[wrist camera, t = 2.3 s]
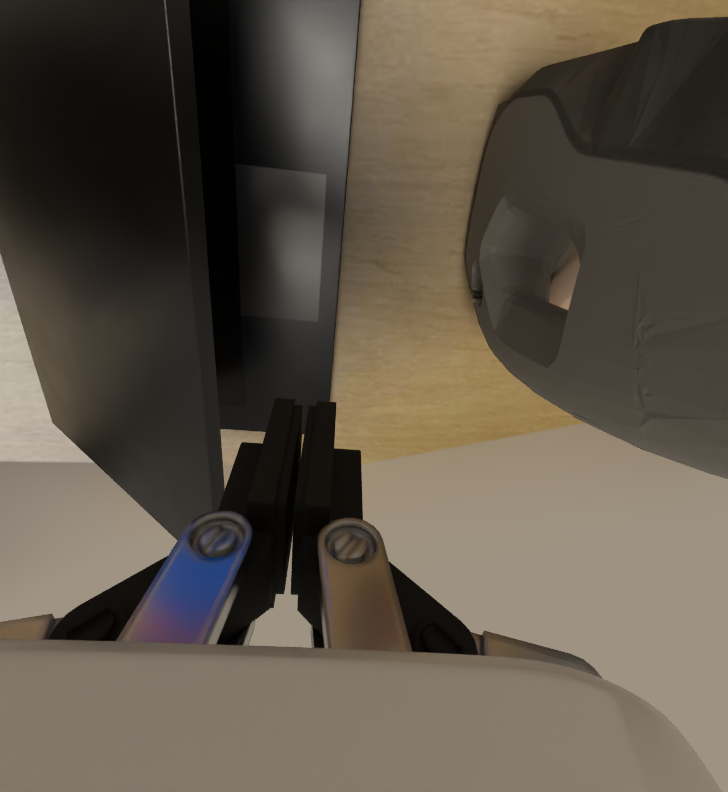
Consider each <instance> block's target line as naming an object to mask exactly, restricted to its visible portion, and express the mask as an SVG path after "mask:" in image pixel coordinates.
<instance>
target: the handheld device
mask: <svg viewBox="0 0 728 792" xmlns="http://www.w3.org/2000/svg"><path fill="white" fill-rule="evenodd" d="M572 242H573V243H574V245H575V247H576V250H577V252H578V256H579V261H580V268H579V272H578V275H577V279H576V283H575V286H574V290H573V294H572V298H571V301H570V305H569V309H568V310H566V309H564V308H561V307H559V306H557V305H554V304H552V303H549V302H550V277H551V272H552V269H553V267H554V264H555V262H556V260H557V259H558V258H559V256H560V255H561V254H562V252H563V251H564V250H565V249H566V248H567V247H568V246H569V245H570V244H571V243H572ZM465 262H466V271H467V276H468V281H469V286H470V290H471V293H472V296H473V298H474V299H476V300H475V302H474V306H475V310H476V314H477V318H478V322H479V325H480V327H481V330H482V332H483V335H484V337H485V339H486V341H487V344H488V346H489V347H490V349H491V350H492V352H493V353H494V355H495V356H496V357H497V358H498V359H499V361H500V362H501V363H502V364H503V365H504V366H505V367H506V369H507V370H508V371H509V372H510V373H511V374H512V375H514V376H515V377H516V378H517V379H519V380H520V381H521V382H522V383H524V384H525V385H526V386H527V387H529V388H530V389H531V390H533V391H534V392H535V393H536V394H538V395H540V396H541V397H543V398H544V399H546V400H548V401H549V402H551V403H553V404H554V405H556V406H558V407H559V408H561V409H562V410H564V411H566V412H568V413H569V414H571V415H573V417H575V418H577V419H579V420H581V421H583V422H585V423H587V424H589V425H591V426H593V427H596V428H598V429H600V430H602V431H604V432H606V433H608V434H611V435H612V436H615V437H617V438H619V439H622V440H624V441H626V442H628V443H630V444H632V445H634V446H636V447H638V448H640V449H643V450H645V451H648V452H651V453H653V454H656V455H659V456H662V457H664V458H667V459H670V460H673V461H676V462H678V463H681V464H684V465H687V466H690V467H693V468H695V469H698V470H701V471H704V472H707V473H710V474H713V475H716V476H720V477H723V478H727V479H728V17H714V18H688V19H679V20H672V21H667V22H663V23H659V24H656V25H653V26H650V27H648V28H647V29H646V30H645V31H644V32H643V34H642V36H641V38H640V40H639V41H638V42H635V43H632V44H628V45H624V46H621V47H617V48H613V49H610V50H606V51H602V52H598V53H594V54H590V55H587V56H583V57H579V58H575V59H571V60H567V61H564V62H560V63H556V64H552V65H549V66H546V67H543V68H541V69H540V70H538V71H537V72H536V73H535V74H534V75H533V76H532V77H531V78H530V79H529V80H528V81H527V82H526V83H525V84H524V85H523V86H522V87H521V88H520V89H519V90H518V91H517V92H516V93H515V94H514V95H513V96H512V97H511V98H510V99H509V100H507V101H505V102H503V103H501V104H499V106H498V109H497V112H496V116H495V121H494V126H493V129H492V131H491V134H490V137H489V140H488V143H487V146H486V150H485V153H484V157H483V162H482V166H481V170H480V175H479V180H478V184H477V189H476V194H475V199H474V204H473V209H472V215H471V220H470V226H469V232H468V238H467V246H466V255H465Z"/></svg>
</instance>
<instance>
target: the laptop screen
mask: <svg viewBox="0 0 728 792" xmlns="http://www.w3.org/2000/svg"><path fill="white" fill-rule="evenodd" d="M0 253H1V257H2V260H3V263H4V266H5V270H6V273H7V276H8V279H9V283H10V286H11V289H12V292H13V296H14V299H15V302H16V305H17V309H18V312H19V315H20V318H21V322H22V325H23V328H24V331H25V335H26V338H27V341H28V344H29V348H30V351H31V354H32V357H33V361H34V364H35V367H36V370H37V374H38V377H39V380H40V383H41V387H42V390H43V393H44V396H45V400H46V403H47V406H48V409H49V413H50V416H51V419H52V422H53V424H54V425H55V426H57V427H58V428H59V429H60V430H61V431H62V432H63V433H64V434H65V435H66V436H67V437H68V438H69V439H70V440H71V441H72V442H73V443H75V444H76V445H77V446H78V447H79V448H80V449H81V450H82V451H83V452H84V453H85V454H86V455H87V456H88V457H89V458H90V459H92V460H93V461H94V462H95V463H96V464H97V465H98V466H99V467H100V468H101V469H102V470H103V471H104V472H105V473H106V474H108V475H109V476H110V477H111V478H112V479H113V480H114V481H115V482H116V483H117V484H118V485H119V486H120V487H121V488H123V489H124V490H125V491H126V492H127V493H128V494H129V495H130V496H131V497H132V498H133V499H134V500H135V501H136V502H137V503H138V504H139V505H140V506H141V507H143V508H144V509H145V510H146V511H147V512H148V513H149V514H150V515H151V516H152V517H153V518H154V519H155V520H156V521H157V522H159V523H160V524H161V525H162V526H163V527H164V528H165V529H166V530H167V531H168V532H169V533H170V534H171V535H172V536H173V537H174V538H176V539H177V540H178V539H179V538H180V536H181V534H182V533H183V531H184V530H185V528H186V527H187V526H188V525H189V524H190V522H192V521H193V520H195V519H196V518H197V517H199V516H201V515H203V514H206V513H208V512H213V511H218V509H219V506H220V503H221V500H222V497H223V494H224V491H225V489H224V477H223V476H224V475H223V461H222V448H221V434H220V421H219V407H218V393H217V380H216V366H215V352H214V339H213V325H212V311H211V298H210V284H209V271H208V257H207V243H206V230H205V216H204V202H203V189H202V175H201V161H200V148H199V134H198V121H197V107H196V93H195V80H194V66H193V52H192V39H191V25H190V11H189V0H0Z"/></svg>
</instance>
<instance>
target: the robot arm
mask: <svg viewBox="0 0 728 792" xmlns="http://www.w3.org/2000/svg"><path fill="white" fill-rule="evenodd" d="M302 418H303V405H296V399H286V398H275V401H274V405H273V408H272V412H271V416H270V419H269V423H268V426H267V430H266V434H265V437H264V441H263V444H261V443H246V442H243V443H241V445H240V448H239V451H238V454H237V456H236V459H235V462H234V465H233V468H232V471H231V474H230V477H229V480H228V483H227V486H226V488H225V491H224V494H223V497H222V500H221V503H220V506H219V509H218V511H213V512H208V513H206V514H203V515H201V516H199V517H197V518H196V519H195V520H193V521H192V522H190V524H189V525H188V526H187V527H186V528H185V530H184V531H183V533H182V534H181V536H180V538H179V539H178V541H177V543H176V544H175V546H174V547H173V549H172V551H171V552H170V554H169V556H167V557H165V558H163V559H161V560H160V561H158V562H156V563H154V564H152V565H151V566H149V567H147V568H146V569H144V570H142V571H140V572H138V573H137V574H135V575H133V576H131V577H129V578H127V579H126V580H124V581H122V582H120V583H118V584H117V585H115V586H113V587H112V588H110V589H108V590H106V591H104V592H102V593H101V594H99V595H97V596H95V597H94V598H92V599H90V600H88V601H86V602H85V603H83V604H81V605H79V606H78V607H76V608H75V609H73V610H72V611H71V612H69V613H68V614H67V615H66V616H65V617H63V618H57V619H54V617H53V615H52V614H47V615H41V616H35V617H28V618H22V619H16V620H10V621H3V622H0V792H722V791H721V789H720V788H719V786H718V785H717V783H716V782H715V780H714V779H713V777H712V776H711V774H710V773H709V771H708V770H707V768H706V767H705V765H704V763H703V762H702V760H701V759H700V757H699V756H698V755H697V753H696V752H695V750H694V749H693V748H692V746H691V745H690V744H689V742H688V741H687V740H686V739H685V737H684V736H683V735H682V734H681V732H680V731H679V730H678V729H677V728H676V727H675V726H674V725H673V724H672V723H671V722H670V721H669V720H668V719H667V717H666V716H665V715H663V714H662V713H661V712H660V711H658V710H657V709H656V708H654V707H653V706H652V705H651V704H649V703H648V702H646V701H645V700H643V699H641V698H640V697H638V696H636V695H635V694H633V693H631V692H629V691H627V690H626V689H624V688H622V687H620V686H617V685H615V684H613V683H611V682H609V681H606V680H604V679H602V677H601V676H600V675H599V673H598V672H597V671H596V670H595V668H593V667H592V666H591V665H590V664H588V663H587V662H586V661H585V660H583V659H581V658H579V657H577V656H574V655H572V654H569V653H565V652H562V651H558V650H554V649H550V648H547V647H543V646H539V645H536V644H532V643H528V642H524V641H521V640H517V639H513V638H509V637H506V636H502V635H498V634H495V633H490V632H487V631H484V632H483V634H482V635H479V634H475V633H471V632H470V631H469V629H468V628H467V627H466V626H465V625H464V624H463V623H462V622H461V621H460V620H459V619H458V618H456V617H455V616H454V615H453V614H452V613H450V612H449V611H448V610H447V609H446V608H444V607H443V606H442V605H441V604H440V603H438V602H437V601H436V600H435V599H434V598H432V597H431V596H430V595H429V594H427V593H426V592H425V591H424V590H423V589H422V588H420V587H419V586H418V585H417V584H416V583H414V582H413V581H412V580H411V579H409V578H408V577H407V576H406V575H405V574H403V573H402V572H401V571H400V570H399V569H398V568H396V567H395V566H394V565H392V564H391V563H390V562H389V561H388V557H387V554H386V550H385V546H384V542H383V539H382V537H381V535H380V533H379V531H377V530H376V528H375V527H374V526H372V525H371V524H369V523H368V522H366V521H364V520H363V515H362V514H363V512H362V481H361V451H360V450H348V449H334V437H335V418H336V402H325V401H317V405H316V406H310V405H309V408H308V415H307V421H306V428H305V435H304V441H303V448H302V455H301V441H302ZM292 535H293V549H292V575H291V576H292V577H291V594H293V595H298V611H299V612H300V613H301V614H302V615H303V617H304V618H306V620H307V621H308V622H309V623H310V624H311V643H312V648H301V647H274V646H272V647H271V646H248V645H249V642H250V639H251V637H252V634H253V630H254V625H255V619H257V618H258V617H259V616H261V615H262V614H263V613H265V612H266V611H267V610H269V609H270V608H274V601H275V595H276V594H284V590H285V584H286V577H287V570H288V563H289V556H290V549H291V542H292Z"/></svg>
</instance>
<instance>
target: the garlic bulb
mask: <svg viewBox="0 0 728 792" xmlns="http://www.w3.org/2000/svg"><path fill="white" fill-rule="evenodd" d="M579 268H580V261H579V256H578V252H577V250H576V247H575V245H574V243H573V242H572V243H571V244H570V245H569V246H568V247H567V248H566V249H565V250H564V251H563V252H562V254H561V255H560V256H559V258H558V259H557V260H556V262H555V264H554V267H553V269H552V272H551V277H550V302H549V303H552V304H554V305H557V306H559V307H561V308H564V309H566V310H568V309H569V305H570V301H571V298H572V294H573V290H574V286H575V283H576V279H577V275H578V272H579Z"/></svg>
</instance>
